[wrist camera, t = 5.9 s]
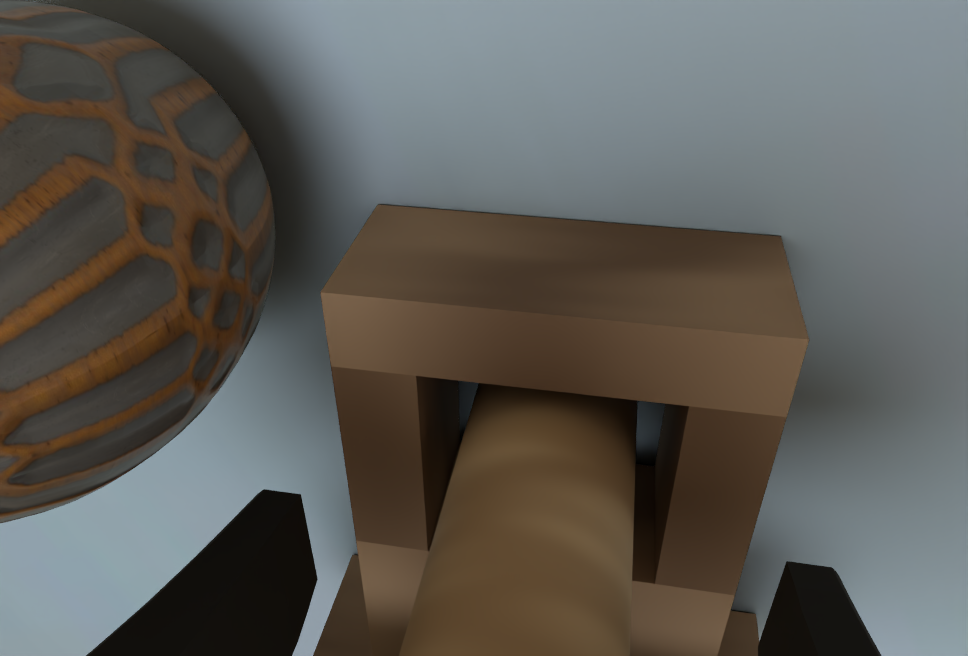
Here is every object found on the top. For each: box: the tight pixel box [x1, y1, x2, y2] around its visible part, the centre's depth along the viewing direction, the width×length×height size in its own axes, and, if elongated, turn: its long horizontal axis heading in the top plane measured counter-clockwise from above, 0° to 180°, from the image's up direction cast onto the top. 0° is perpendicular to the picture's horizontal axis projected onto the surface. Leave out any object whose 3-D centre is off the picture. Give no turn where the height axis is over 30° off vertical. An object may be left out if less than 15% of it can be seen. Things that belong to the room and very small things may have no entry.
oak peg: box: [399, 383, 637, 656], centre depth 12 cm, size 3×3×8 cm
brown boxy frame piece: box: [313, 205, 809, 656], centre depth 14 cm, size 10×11×7 cm
